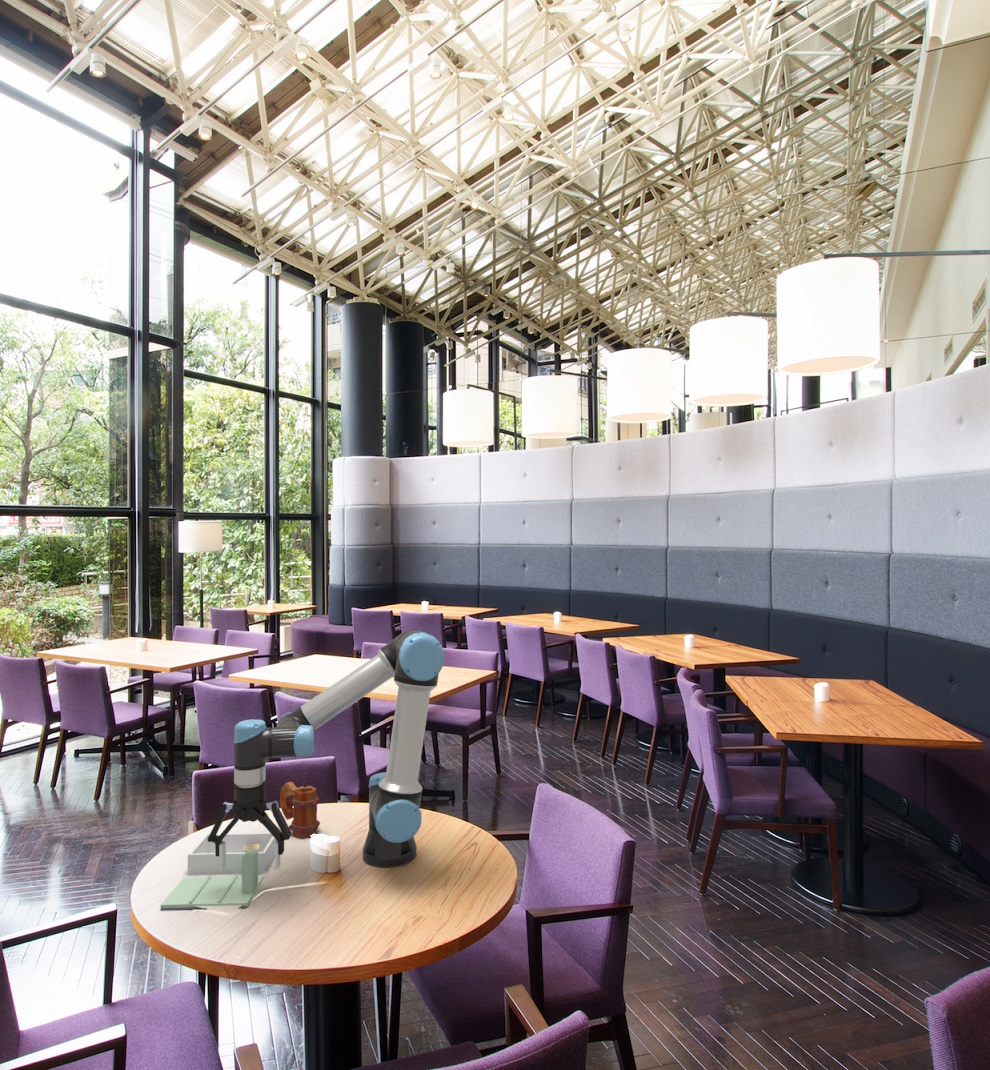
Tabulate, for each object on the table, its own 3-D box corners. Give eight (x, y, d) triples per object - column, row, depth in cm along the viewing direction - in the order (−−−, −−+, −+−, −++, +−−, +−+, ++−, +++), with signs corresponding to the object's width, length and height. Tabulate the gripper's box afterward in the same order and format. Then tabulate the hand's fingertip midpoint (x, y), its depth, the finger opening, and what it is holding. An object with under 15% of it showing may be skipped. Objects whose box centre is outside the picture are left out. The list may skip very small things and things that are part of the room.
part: (259, 854, 206) (259, 843, 206) (259, 860, 202) (259, 849, 202) (244, 856, 205) (244, 845, 205) (243, 862, 201) (243, 851, 201)
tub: (277, 853, 208) (277, 832, 208) (264, 875, 194) (264, 853, 194) (205, 855, 207) (206, 833, 207) (187, 877, 193) (187, 854, 193)
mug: (326, 835, 222) (326, 785, 222) (305, 844, 215) (306, 792, 215) (292, 825, 230) (292, 777, 230) (271, 833, 223) (272, 784, 223)
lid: (263, 878, 191) (263, 842, 192) (247, 906, 177) (247, 866, 177) (183, 880, 190) (183, 843, 191) (160, 908, 176) (160, 868, 176)
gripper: (303, 777, 189) (303, 860, 189) (204, 779, 188) (204, 862, 187) (296, 786, 181) (296, 873, 181) (194, 789, 180) (194, 876, 180)
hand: (250, 868), depth 184 cm, fingers open, 13 cm apart
